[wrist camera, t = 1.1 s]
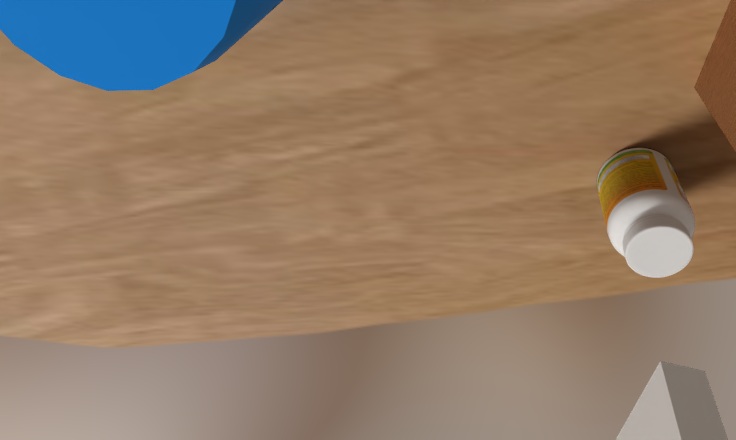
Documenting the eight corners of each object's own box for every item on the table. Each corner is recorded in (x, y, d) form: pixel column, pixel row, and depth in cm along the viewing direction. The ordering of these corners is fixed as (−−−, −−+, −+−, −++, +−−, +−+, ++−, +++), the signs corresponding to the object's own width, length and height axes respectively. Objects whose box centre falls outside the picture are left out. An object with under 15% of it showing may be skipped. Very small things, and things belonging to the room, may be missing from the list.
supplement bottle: (581, 190, 50) (596, 265, 42) (623, 133, 47) (647, 202, 39) (643, 220, 50) (669, 299, 42) (689, 165, 47) (726, 239, 39)
